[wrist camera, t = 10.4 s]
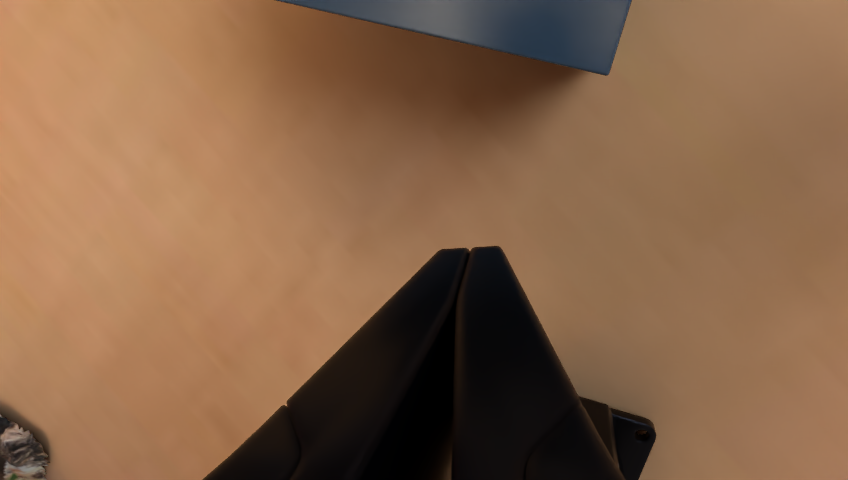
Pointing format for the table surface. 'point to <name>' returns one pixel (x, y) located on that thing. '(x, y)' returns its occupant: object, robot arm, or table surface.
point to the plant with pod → (20, 453)
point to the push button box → (504, 25)
